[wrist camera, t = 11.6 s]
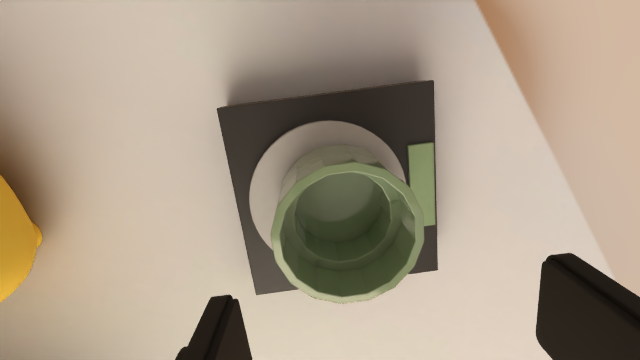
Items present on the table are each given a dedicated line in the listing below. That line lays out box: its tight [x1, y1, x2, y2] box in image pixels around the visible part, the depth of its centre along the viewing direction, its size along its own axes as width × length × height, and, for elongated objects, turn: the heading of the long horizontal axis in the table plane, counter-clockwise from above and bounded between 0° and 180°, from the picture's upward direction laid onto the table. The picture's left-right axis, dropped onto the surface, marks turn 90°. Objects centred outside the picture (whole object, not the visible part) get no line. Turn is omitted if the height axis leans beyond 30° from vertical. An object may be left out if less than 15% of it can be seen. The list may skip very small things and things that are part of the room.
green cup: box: [270, 144, 424, 304], centre depth 18 cm, size 7×7×5 cm
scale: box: [217, 80, 438, 295], centre depth 22 cm, size 13×13×3 cm
